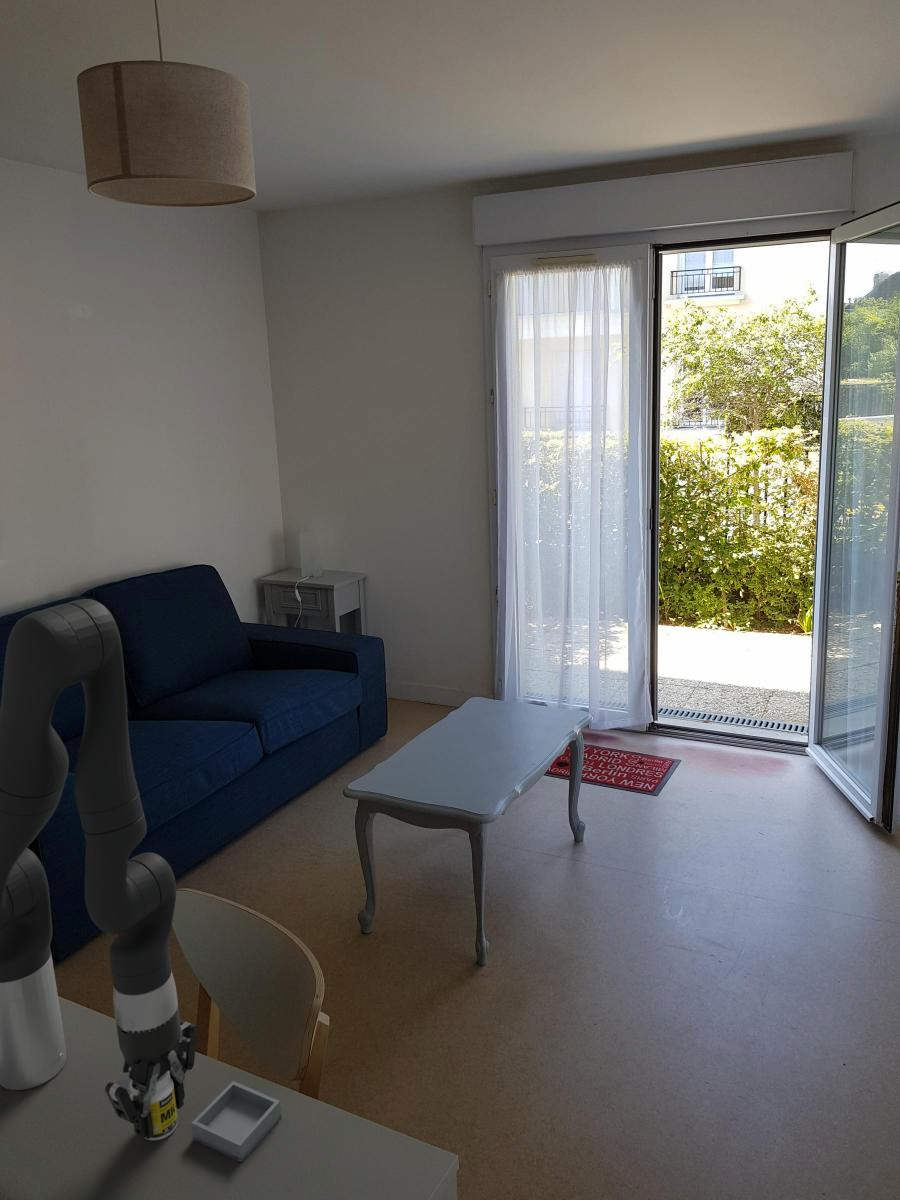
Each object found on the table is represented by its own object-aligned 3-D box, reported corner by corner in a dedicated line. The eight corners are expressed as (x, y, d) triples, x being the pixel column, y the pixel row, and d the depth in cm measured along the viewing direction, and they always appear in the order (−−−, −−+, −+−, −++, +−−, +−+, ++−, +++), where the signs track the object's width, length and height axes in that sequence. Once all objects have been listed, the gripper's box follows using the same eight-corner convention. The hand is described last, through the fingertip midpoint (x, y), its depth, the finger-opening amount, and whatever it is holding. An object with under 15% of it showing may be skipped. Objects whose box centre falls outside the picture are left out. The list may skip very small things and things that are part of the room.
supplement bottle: (167, 1144, 119) (160, 1089, 117) (133, 1139, 120) (126, 1084, 118) (184, 1115, 123) (178, 1062, 121) (152, 1110, 124) (145, 1057, 122)
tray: (193, 1139, 120) (191, 1122, 119) (234, 1096, 126) (232, 1080, 126) (241, 1162, 116) (239, 1145, 115) (281, 1117, 123) (280, 1100, 122)
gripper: (166, 967, 125) (178, 1074, 129) (80, 1035, 112) (97, 1150, 117) (208, 983, 121) (220, 1092, 125) (124, 1054, 109) (140, 1172, 113)
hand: (160, 1119), depth 121 cm, fingers closed on supplement bottle, 4 cm apart
